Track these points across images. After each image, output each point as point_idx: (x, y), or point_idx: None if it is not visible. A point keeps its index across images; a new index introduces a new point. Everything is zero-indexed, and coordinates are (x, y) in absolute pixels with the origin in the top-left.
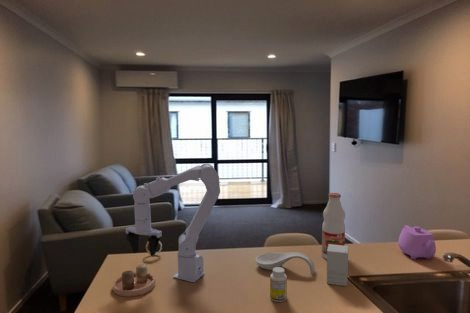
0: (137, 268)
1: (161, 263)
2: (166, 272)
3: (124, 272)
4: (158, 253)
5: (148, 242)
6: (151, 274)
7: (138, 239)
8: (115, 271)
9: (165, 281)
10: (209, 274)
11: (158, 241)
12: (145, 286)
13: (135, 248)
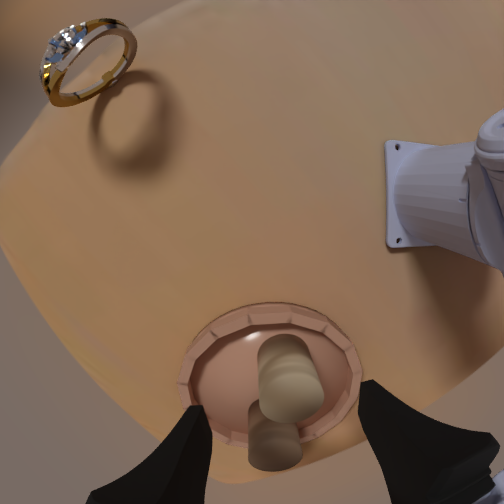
0: (285, 421)
1: (218, 132)
2: (321, 211)
3: (256, 460)
4: (130, 64)
5: (50, 85)
6: (306, 320)
7: (175, 470)
8: (90, 319)
9: (371, 290)
10: None
11: (448, 430)
12: (347, 399)
13: (205, 450)
